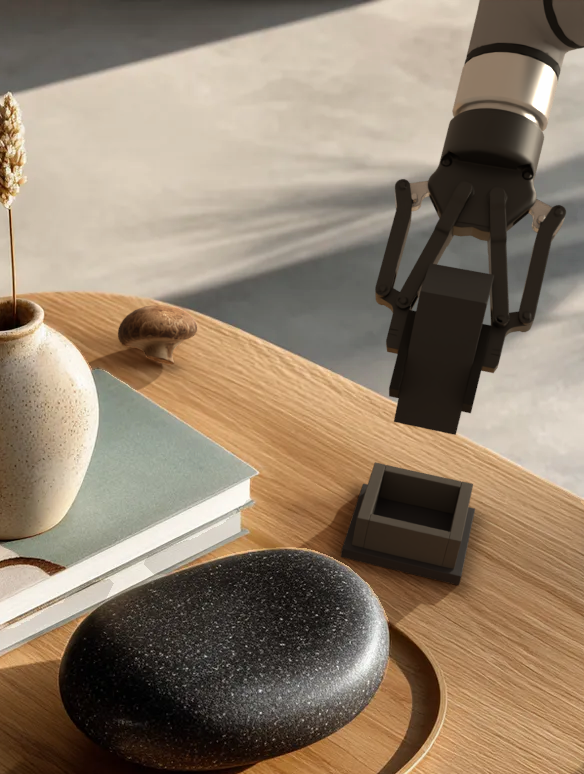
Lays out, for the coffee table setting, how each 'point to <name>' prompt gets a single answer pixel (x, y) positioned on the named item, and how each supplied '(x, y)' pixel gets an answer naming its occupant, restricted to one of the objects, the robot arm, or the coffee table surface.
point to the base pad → (411, 523)
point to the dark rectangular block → (442, 347)
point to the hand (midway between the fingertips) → (430, 400)
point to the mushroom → (157, 331)
